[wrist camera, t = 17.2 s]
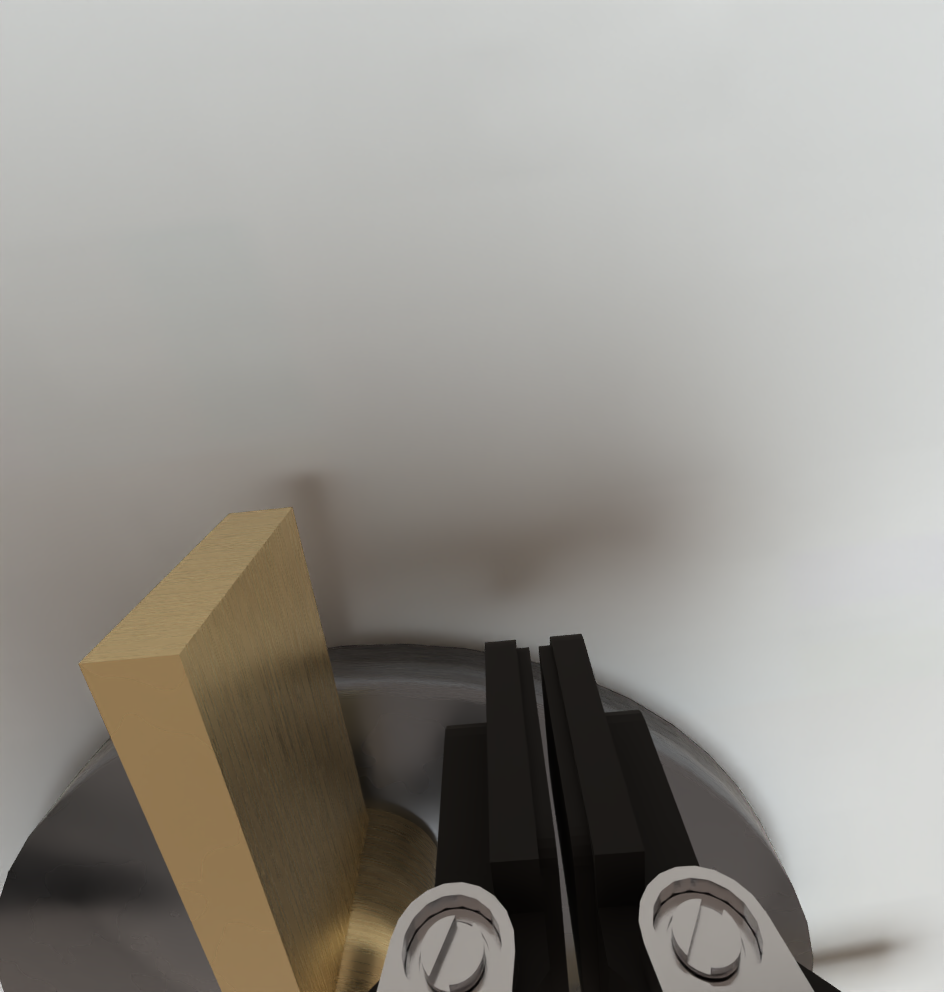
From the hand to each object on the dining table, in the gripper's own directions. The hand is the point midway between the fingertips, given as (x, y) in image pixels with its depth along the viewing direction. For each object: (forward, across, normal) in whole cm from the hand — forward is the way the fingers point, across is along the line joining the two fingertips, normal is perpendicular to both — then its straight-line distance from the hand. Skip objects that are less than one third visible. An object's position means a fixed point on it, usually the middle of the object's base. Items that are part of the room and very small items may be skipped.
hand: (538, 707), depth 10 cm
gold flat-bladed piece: (+2, +5, +3) cm, 6 cm away
